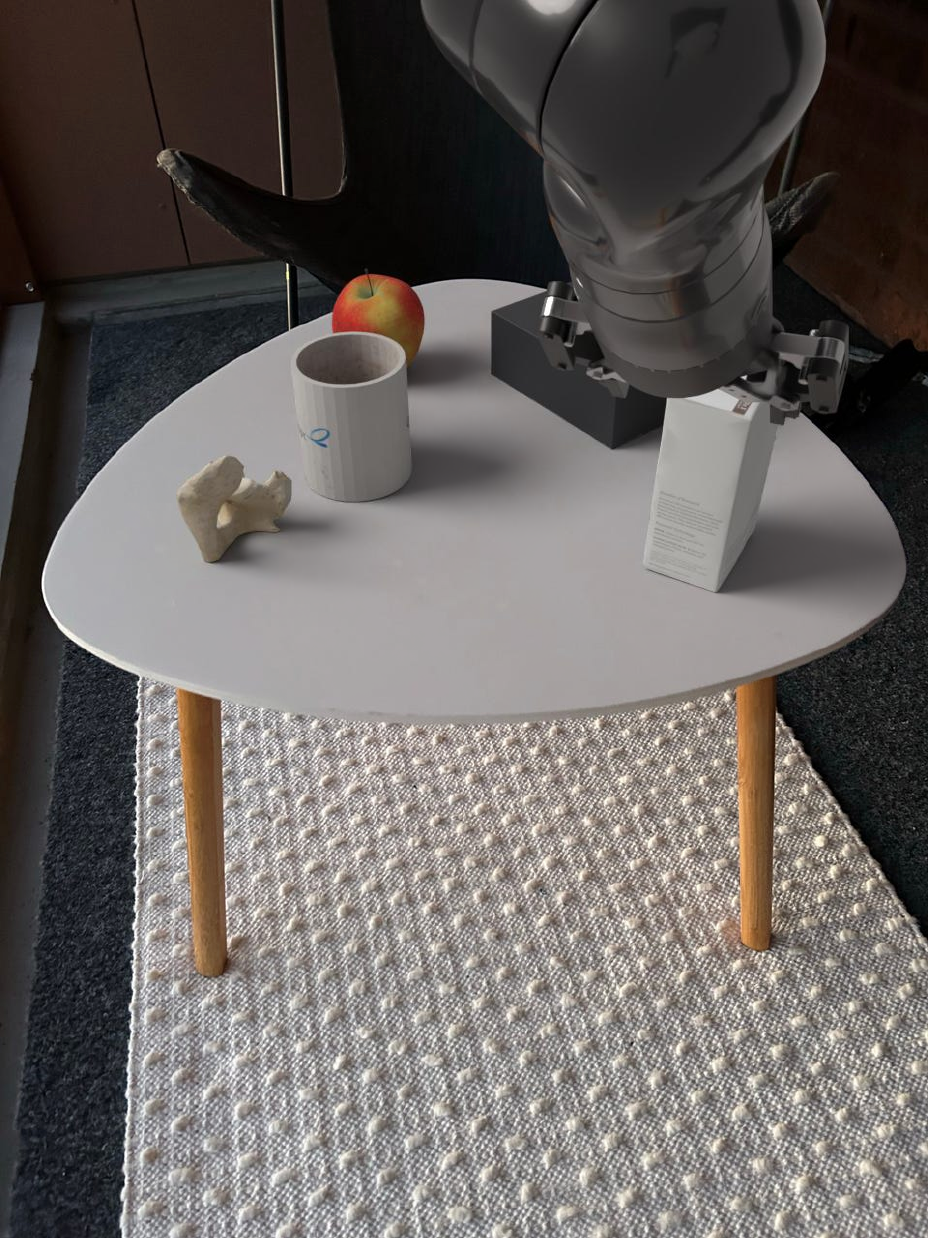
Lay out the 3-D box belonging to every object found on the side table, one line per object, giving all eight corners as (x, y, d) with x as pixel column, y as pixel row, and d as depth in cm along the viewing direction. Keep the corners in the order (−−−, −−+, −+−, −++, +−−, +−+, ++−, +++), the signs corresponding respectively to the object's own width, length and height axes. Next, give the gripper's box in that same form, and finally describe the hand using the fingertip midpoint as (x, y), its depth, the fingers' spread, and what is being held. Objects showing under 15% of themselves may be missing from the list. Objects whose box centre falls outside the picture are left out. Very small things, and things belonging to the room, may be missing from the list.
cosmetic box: (682, 511, 83) (709, 332, 73) (758, 534, 81) (797, 352, 71) (639, 572, 78) (661, 388, 68) (719, 599, 75) (755, 412, 65)
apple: (443, 375, 99) (440, 269, 92) (367, 402, 96) (358, 295, 89) (396, 341, 104) (390, 239, 97) (322, 365, 101) (310, 261, 94)
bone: (264, 466, 85) (272, 401, 76) (303, 534, 84) (315, 477, 75) (163, 508, 82) (157, 446, 73) (201, 579, 81) (201, 525, 72)
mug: (421, 493, 85) (415, 379, 79) (311, 508, 84) (296, 394, 77) (393, 413, 94) (386, 305, 88) (294, 426, 93) (279, 317, 86)
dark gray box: (701, 412, 94) (714, 326, 88) (616, 452, 89) (625, 364, 84) (572, 341, 104) (577, 260, 98) (490, 374, 99) (490, 291, 94)
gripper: (883, 204, 41) (853, 345, 56) (525, 165, 45) (589, 306, 61) (836, 397, 41) (819, 485, 56) (482, 340, 45) (557, 436, 60)
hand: (700, 392), depth 58 cm, fingers open, 8 cm apart
